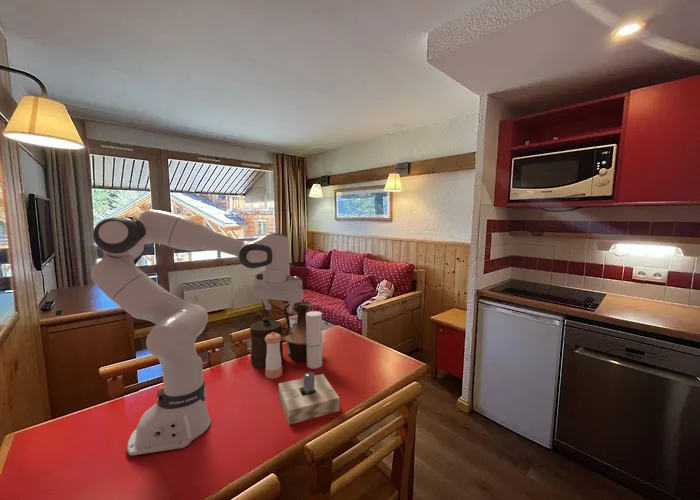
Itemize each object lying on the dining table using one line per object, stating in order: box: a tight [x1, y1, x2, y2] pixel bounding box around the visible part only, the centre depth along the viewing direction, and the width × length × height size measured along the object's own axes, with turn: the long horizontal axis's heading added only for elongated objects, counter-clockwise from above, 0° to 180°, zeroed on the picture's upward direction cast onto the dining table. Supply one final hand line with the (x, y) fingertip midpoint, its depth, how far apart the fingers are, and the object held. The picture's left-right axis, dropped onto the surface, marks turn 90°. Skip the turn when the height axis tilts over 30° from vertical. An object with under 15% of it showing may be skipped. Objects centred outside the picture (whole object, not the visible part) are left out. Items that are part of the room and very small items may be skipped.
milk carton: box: [285, 316, 298, 356], centre depth 150 cm, size 7×7×19 cm
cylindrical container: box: [306, 310, 323, 370], centre depth 138 cm, size 7×7×25 cm
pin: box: [303, 371, 315, 396], centre depth 109 cm, size 4×4×10 cm
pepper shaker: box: [264, 332, 283, 380], centre depth 130 cm, size 7×7×19 cm
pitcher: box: [282, 301, 317, 362], centre depth 146 cm, size 18×17×28 cm
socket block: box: [278, 373, 340, 426], centre depth 110 cm, size 18×18×5 cm
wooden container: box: [249, 316, 284, 369], centre depth 142 cm, size 15×15×22 cm
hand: (278, 310), depth 114 cm, fingers open, 8 cm apart
